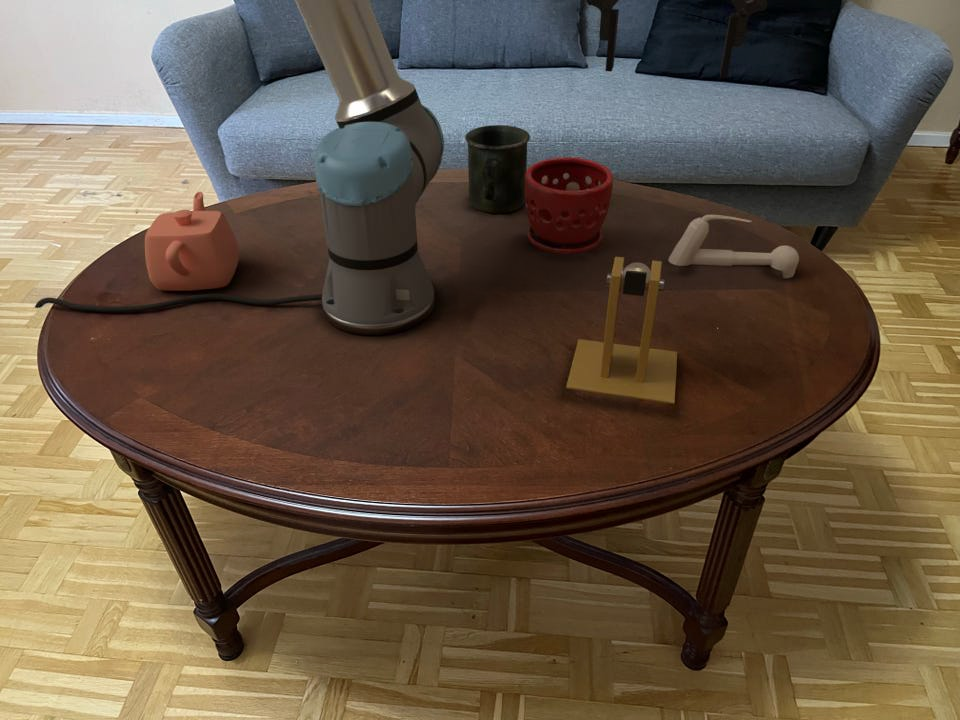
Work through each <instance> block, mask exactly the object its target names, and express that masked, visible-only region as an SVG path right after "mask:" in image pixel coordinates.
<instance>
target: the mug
mask: <svg viewBox="0 0 960 720" xmlns="http://www.w3.org/2000/svg"><path fill="white" fill-rule="evenodd" d="M464 140H465V142H466V143H467V167H468V172H467V173H468V175H467V176H468V202H469V203H470V205H471V206H472V207H473V208H474V209H475V210H477V211H479V212H481V213H482V212H483V213H488V214H507V213H511V212H514V211H517V210H519V209H520V208H522V207H523V206H524V204H525V174H526V171H527V170H528V167H527V166H528V165H527V164H528V142H529V141H530V140H531V136H530V133H529V132H528V131H527V130H525V129H523V128H520V127H517V126H512V125H505V124H504V125H503V124H492V125H484V126H479V127H476V128H473V129H471V130H469V131H468V132H467V133H466V134H465V137H464Z"/></svg>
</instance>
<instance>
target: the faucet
mask: <svg viewBox="0 0 960 720" xmlns="http://www.w3.org/2000/svg"><path fill="white" fill-rule="evenodd" d="M712 220H713V221H714V220H727V221H729V220H730V221H736V222H737V221H738V222H745V223H753V220H751V219H746V218H740V217H735V216H728V215H719V214H705V215H703V216H702V217H697V218H695V219H693V220H692V221H690V222H689V224H688V225H687V227H686V229H685V231H684V233H683V235H682V236H681V238H680V239H679V240H678V242H677V243H676V245H675V247H674V248H673V250H672V252H671V253H670V255H669V257H668V260H667V261H668V262H669V263H670V264H672V265H674V266H678V267H686V266H687V267H688V266H691V265H694V266H695V265H697V266H700V265H701V266H720V267H721V266H722V267H732V266H769V267H771V268H772V269H774V270H777V271H779V272H780V271H781V273H782V279H792V278H793V277H794V276H795V273H796V270H797V267H798V265H799V262H800V257H799V253H798V251H797V250H796V249H795V248H794V247H793V246H791V245H780V246H777V247H775V248H774V249H772V251H771V252H754V251H753V252H752V251H750V252H749V251H733V249H716V248H715V249H714V248H700V247H701V246H702V245H703V242H704V241H705V239H706V237H707V236H708V234H709V231H710V224H709V221H712Z"/></svg>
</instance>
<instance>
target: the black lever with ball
mask: <svg viewBox="0 0 960 720" xmlns="http://www.w3.org/2000/svg"><path fill="white" fill-rule="evenodd" d="M650 274H651V268H649V267H648V266H647V264H645V263H642V262H632V263H629V264H628V265H627V266H625V267H624V268H623V274H622V282H621V284H622V285H623V288H622V294H623V295H630V296H637V297H644V296H645V290H648V288H649V281H650Z"/></svg>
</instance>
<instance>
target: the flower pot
mask: <svg viewBox="0 0 960 720" xmlns="http://www.w3.org/2000/svg"><path fill="white" fill-rule="evenodd" d="M565 174H568V177H567V178H565V177H564V175H565ZM544 177H546V181H545V182H543V181H542V180H543V178H544ZM587 177H589V178H590V180H591V181H590V183H588V182H587V180H586V178H587ZM556 179H557V182H556V183H554V181H555V180H556ZM570 183H576V184H577V185H578V187H579V190H567V186H568V184H570ZM599 183H600V185H599ZM613 184H614V175H613V173H612V171H611V170H610V168H608V167H607V166H605V164H604V165H603V164H602V163H599V162H597V161H594V160H590V159H586V158H580V157H571V156H569V157H568V156H567V157H553V158H546V159H544V160H543V159H542V160H540V161H538V162H535V163H533V164H532V165H530V166H529V167H527V171H526V174H525V203H524V204H525V210H526V211H525V212H526V216H527V219H528V222H529V224H530V226H529V227H528V230H527V237H528V240H529V242H530V243H531V244H532V245H533V246H535V247H536V248H538V249H541V250H542V251H546V252H550V253H553V254H554V253H555V254H564V255H565V254H568V255H570V254H571V255H572V254H581V253H585V252H588V251H591V250H593V249H595V248H596V247H598V246H599V245H600V243H601V242H602V237H603V233H602V230H601V229H602V226H603V225H604V223H605V221H606V218H607V215H608V213H609V210H610V204H611V200H612V195H613V187H614V185H613ZM537 237H538V238H537ZM538 239H539V240H541V241H542V242H543V243H541V242H539V241H538Z"/></svg>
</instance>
